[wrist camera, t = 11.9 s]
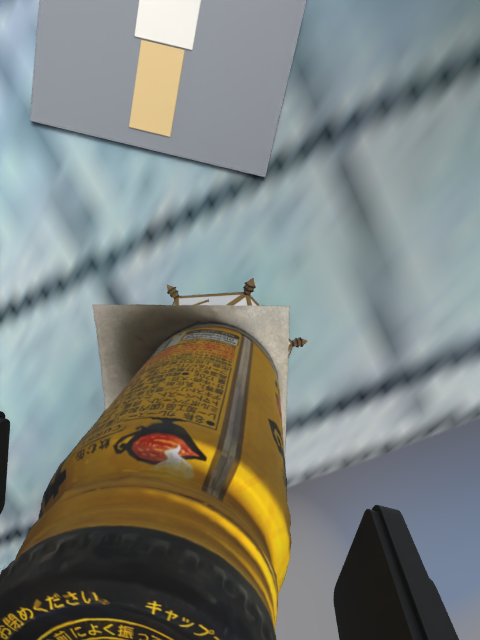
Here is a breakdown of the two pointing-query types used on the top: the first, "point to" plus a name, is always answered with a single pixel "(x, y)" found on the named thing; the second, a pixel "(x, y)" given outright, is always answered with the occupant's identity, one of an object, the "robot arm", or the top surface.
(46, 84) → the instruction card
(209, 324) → the condiment
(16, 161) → the top surface
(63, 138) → the top surface
